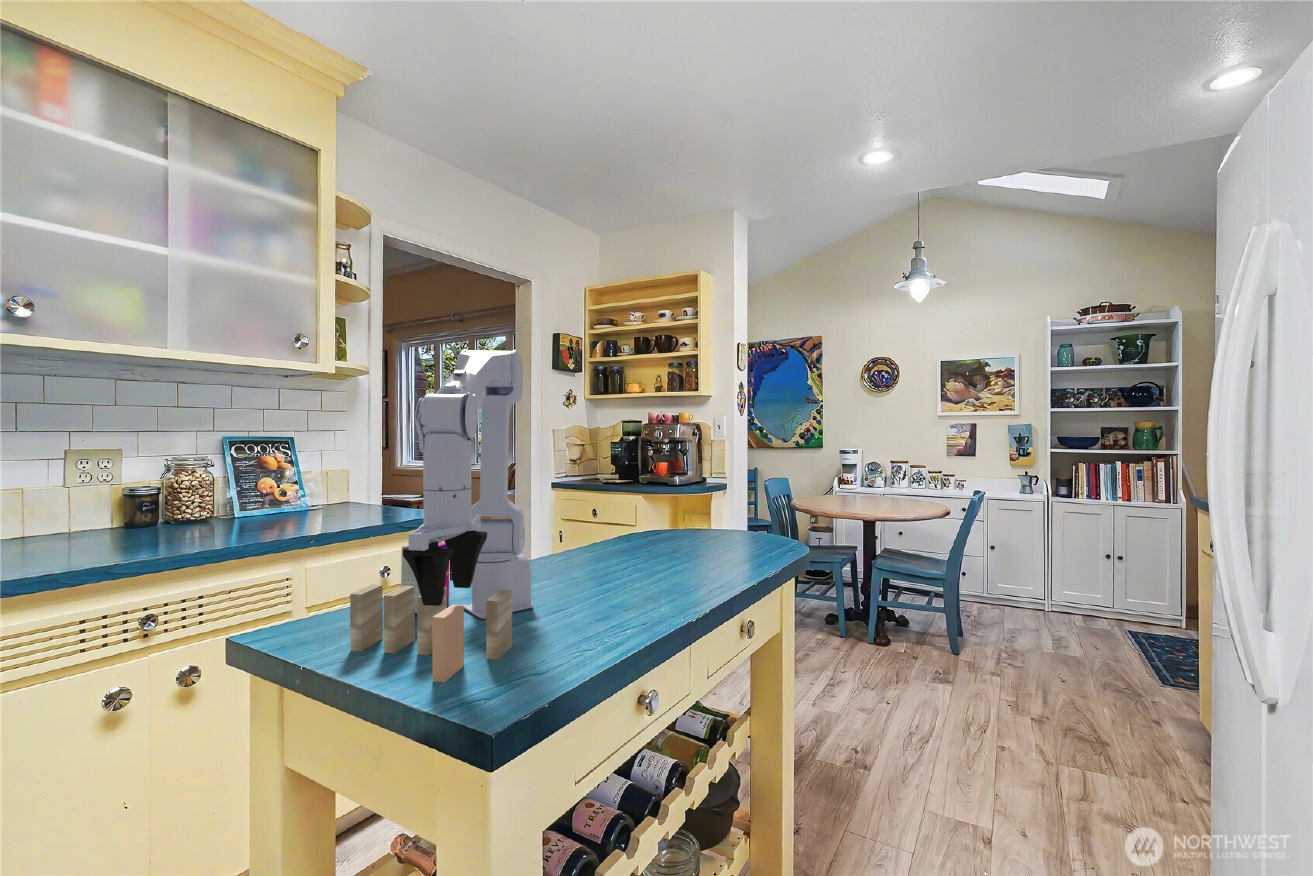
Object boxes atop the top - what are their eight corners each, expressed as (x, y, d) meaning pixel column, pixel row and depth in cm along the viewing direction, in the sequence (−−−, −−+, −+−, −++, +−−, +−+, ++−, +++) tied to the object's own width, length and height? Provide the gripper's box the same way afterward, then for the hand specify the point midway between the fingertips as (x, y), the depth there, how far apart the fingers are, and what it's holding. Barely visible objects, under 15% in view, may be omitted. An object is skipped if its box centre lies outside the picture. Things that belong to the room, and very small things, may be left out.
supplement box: (431, 617, 95) (431, 548, 95) (399, 615, 96) (398, 546, 96) (450, 607, 101) (450, 541, 101) (420, 604, 102) (419, 539, 102)
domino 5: (512, 646, 83) (511, 590, 83) (497, 660, 78) (497, 601, 78) (501, 645, 83) (501, 590, 83) (486, 659, 78) (486, 600, 78)
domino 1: (382, 638, 86) (382, 584, 86) (361, 651, 81) (360, 594, 81) (372, 638, 86) (372, 584, 86) (350, 651, 81) (350, 594, 81)
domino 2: (414, 640, 85) (414, 586, 85) (394, 653, 80) (394, 596, 80) (404, 639, 86) (404, 585, 85) (384, 652, 81) (383, 595, 80)
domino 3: (446, 642, 85) (446, 587, 84) (428, 655, 80) (428, 597, 79) (436, 641, 85) (436, 587, 85) (417, 654, 80) (417, 597, 80)
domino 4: (463, 665, 76) (463, 605, 76) (444, 682, 71) (444, 617, 71) (452, 665, 77) (452, 604, 76) (432, 681, 72) (432, 617, 71)
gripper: (448, 496, 66) (449, 615, 66) (501, 483, 80) (501, 581, 80) (391, 494, 67) (392, 612, 67) (453, 482, 81) (453, 579, 81)
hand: (448, 595), depth 74 cm, fingers open, 7 cm apart
